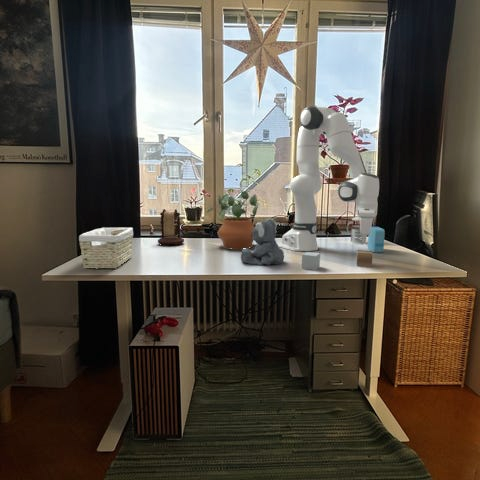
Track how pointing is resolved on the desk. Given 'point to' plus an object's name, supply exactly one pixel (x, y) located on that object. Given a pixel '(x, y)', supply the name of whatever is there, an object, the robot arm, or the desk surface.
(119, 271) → the desk surface
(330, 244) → the desk surface
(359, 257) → the walnut cube
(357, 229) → the french press
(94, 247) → the storage basket
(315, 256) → the grey cube
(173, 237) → the scroll
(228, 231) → the potted plant
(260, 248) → the koala plush
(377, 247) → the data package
